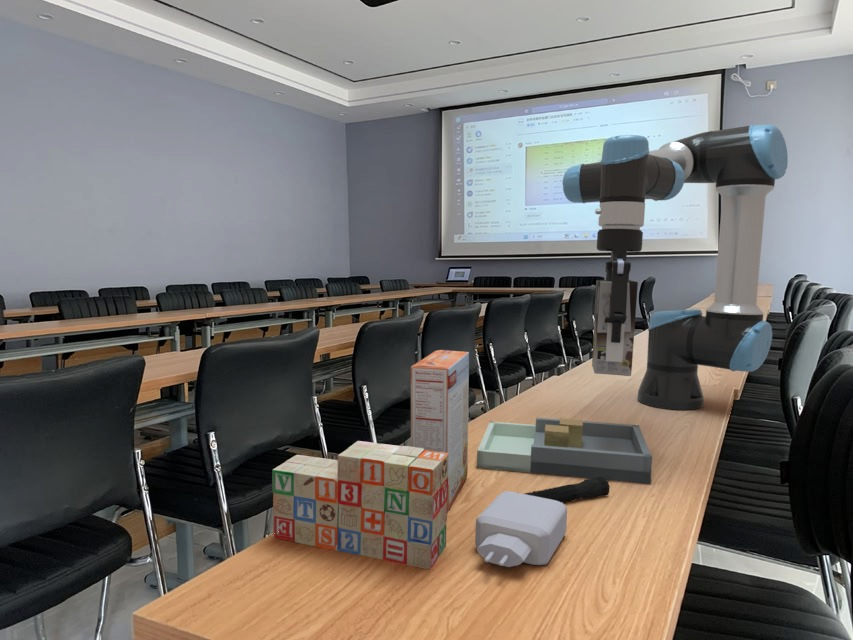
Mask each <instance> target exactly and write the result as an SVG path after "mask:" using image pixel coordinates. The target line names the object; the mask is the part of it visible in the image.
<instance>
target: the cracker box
mask: <svg viewBox="0 0 853 640" xmlns="http://www.w3.org/2000/svg"><path fill="white" fill-rule="evenodd" d="M469 377H470V352H469V351H458V350H448V349H439V350H438V349H437V350H435V351H433V352H432V353H430V354H429V355H427V356H425V357H424V358H422V359H420V360H419V361H418V362H416V363H414V364H413V365H411V366H410V447H416V448H424V449H425V450H429V451H436V452H443V453H448V454H449V460H448V499H447V512H448V511H449V510H450V508H451V506H452V505H453V503H454V501H455V500H456V498H457V496H458V494H459V492H460V491H461V488H462V487H463V485H464V483H465V481H466V479H467V478H468V471H469V470H468V469H469V468H468V466H469V465H468V464H469V463H468V462H469V459H468V457H469V455H468V453H469V388H470V386H469V382H470V381H469V379H470V378H469Z"/></svg>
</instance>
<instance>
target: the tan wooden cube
mask: <svg viewBox="0 0 853 640" xmlns="http://www.w3.org/2000/svg"><path fill="white" fill-rule="evenodd" d="M559 419H560V426H568V427H569V435H568V446H569V447H580V448H582V433H583V422H582V421H583V419H577V418H576V419H575V418H563V417H560V418H559Z"/></svg>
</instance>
